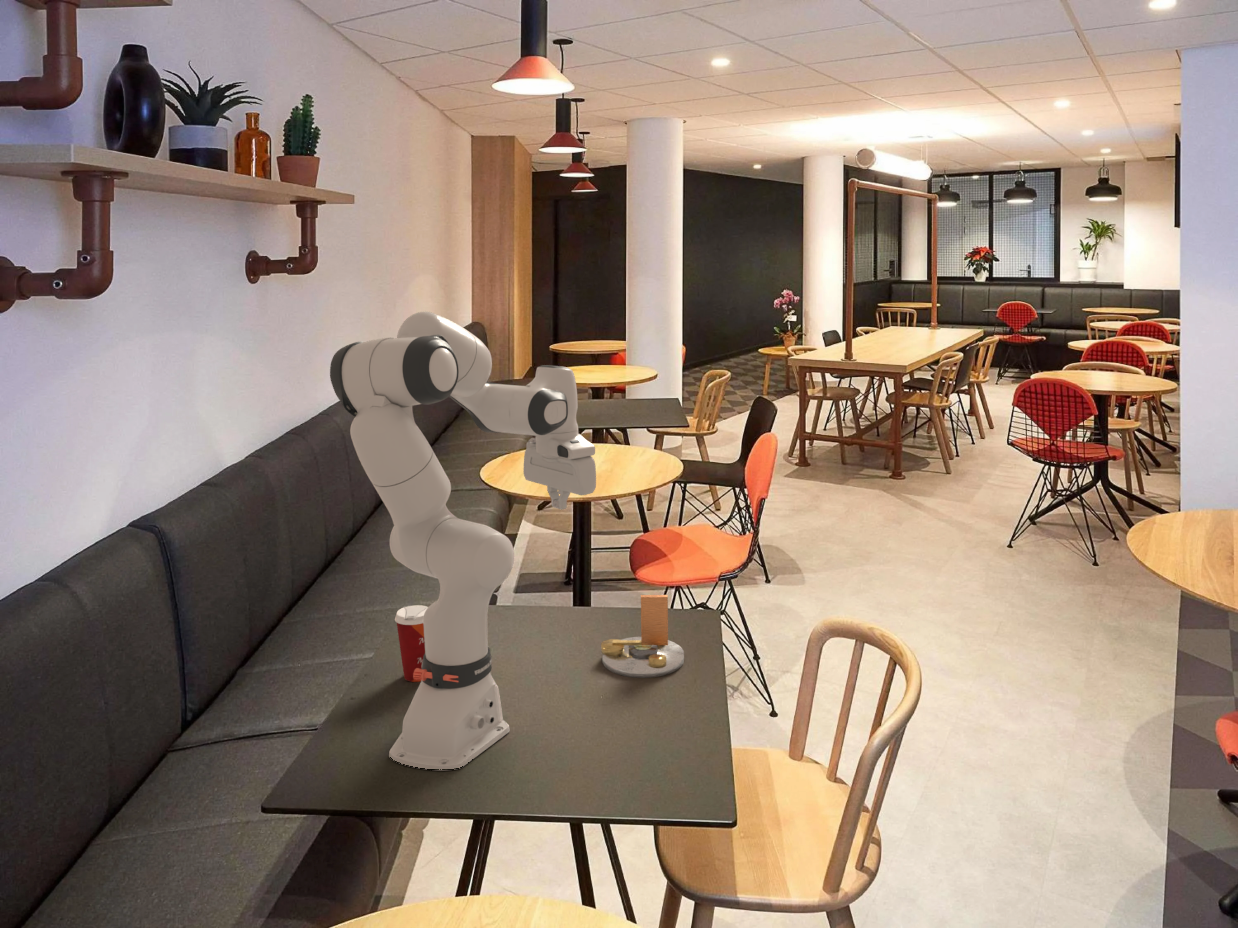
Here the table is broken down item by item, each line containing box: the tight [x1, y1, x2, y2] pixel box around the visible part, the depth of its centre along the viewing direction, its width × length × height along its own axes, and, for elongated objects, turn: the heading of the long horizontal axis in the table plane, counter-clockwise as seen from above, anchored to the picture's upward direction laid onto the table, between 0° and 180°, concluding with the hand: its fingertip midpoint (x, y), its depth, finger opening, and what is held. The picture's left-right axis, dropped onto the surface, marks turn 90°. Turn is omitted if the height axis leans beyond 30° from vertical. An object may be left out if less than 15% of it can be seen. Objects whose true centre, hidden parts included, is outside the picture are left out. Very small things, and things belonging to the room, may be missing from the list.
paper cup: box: [394, 604, 429, 683], centre depth 192 cm, size 8×8×14 cm
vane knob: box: [600, 594, 669, 656], centre depth 198 cm, size 14×5×12 cm, turn 88°
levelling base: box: [601, 636, 685, 679], centre depth 199 cm, size 17×17×3 cm
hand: (559, 508), depth 200 cm, fingers closed
